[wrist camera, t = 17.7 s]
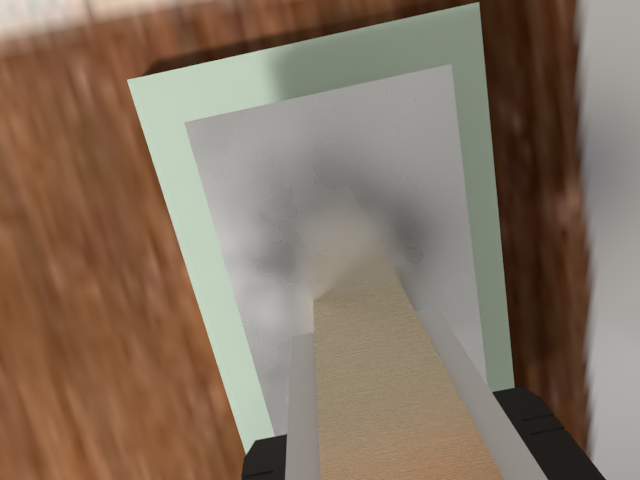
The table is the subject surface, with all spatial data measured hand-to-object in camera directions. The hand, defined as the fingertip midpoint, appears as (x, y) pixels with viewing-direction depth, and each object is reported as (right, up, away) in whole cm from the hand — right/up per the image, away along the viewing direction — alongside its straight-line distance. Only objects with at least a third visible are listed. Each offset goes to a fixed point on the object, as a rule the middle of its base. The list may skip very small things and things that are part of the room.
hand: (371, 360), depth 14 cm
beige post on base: (0, +1, +3) cm, 3 cm away
